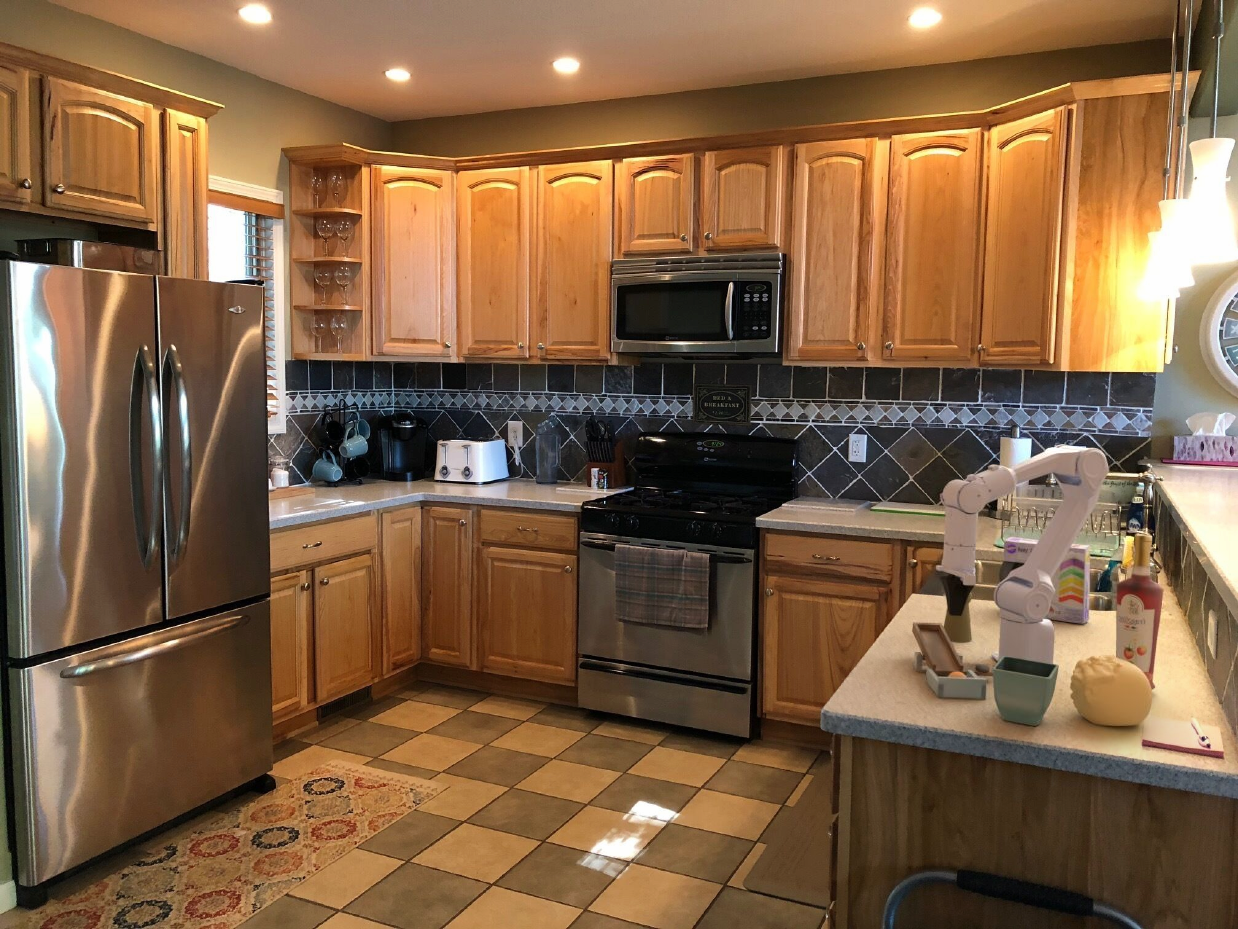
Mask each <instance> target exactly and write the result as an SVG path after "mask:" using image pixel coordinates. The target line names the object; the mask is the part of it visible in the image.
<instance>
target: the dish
mask: <svg viewBox="0 0 1238 929" xmlns="http://www.w3.org/2000/svg"><path fill="white" fill-rule="evenodd" d="M925 674H926V675H925V683H926V684H927V685H928V687H929V688H930V689H931V690H932V692H933V691H934V692H933V693H934V694H935V695H936V697H937V696H938V697H937V698H938V699H959V698H960V699H964V700H965V699H966V700H986V698H987V683H988V682H987V680H988V679H987V678H986V677H980V676H977V675H976V674H975V673H974V672H973V671H972V670H967V676H966V677H967V678H965V677H948V676H939V675H936V674H935V673H934V672H933V670H932V669H927V672H925Z"/></svg>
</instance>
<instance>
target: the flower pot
mask: <svg viewBox="0 0 1238 929" xmlns="http://www.w3.org/2000/svg"><path fill="white" fill-rule="evenodd" d="M1059 667H1060V665H1059V664H1056V663H1053V664H1052V663H1046V662H1039V661H1033V660H1027V659H1022V658H1016V657H1010V656H1002V657H1001V658H1000V660H999V661H998V662H996V664H995V665H994V666H992V672H993V676H992V684H993V686H992V687H993V696H994V701H995V704H996V708H997V710H998V712H999V714H1000V716H1001V717H1002V719H1003V720H1004V721H1007V722H1012V723H1017V724H1022V725H1026V726H1027V725H1028V726H1032V727H1036V726H1038V725H1039V724H1040V722H1041V721H1042V719H1043V717H1044V716H1045V714H1046V712H1047V710H1048V709H1049V707H1050V705H1051V703H1052V700H1053V697H1054V693H1055V690H1056V685H1057V680H1058V673H1059Z"/></svg>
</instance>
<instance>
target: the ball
mask: <svg viewBox="0 0 1238 929" xmlns="http://www.w3.org/2000/svg"><path fill="white" fill-rule="evenodd" d="M947 677H965V678H967V676H965V675H964V674H963V673H961V672H952V673H951V674H950V675H947Z"/></svg>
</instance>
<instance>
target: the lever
mask: <svg viewBox="0 0 1238 929" xmlns="http://www.w3.org/2000/svg"><path fill="white" fill-rule="evenodd" d="M912 635H913V637H914V639H915V641H916V643H917V645H918V647H919V650H920V652H921V654H922V655H923V656H922V662H923V661H925V663H926V666H928V667H929V669H932V670H933V672H934V673H935V674H936V675H937V676H939V675H941V676H943V675H944V676H949V675H950V674H951V673H952V672H961V673H963V674H964V675H965V676H966V677H967V670H972V671H973V672H974V673H975V674H976V675H977V676H978V677H993V672H992V668H993V666H992V665H991V663H969V662H968V663H967V662H966V663H965V662H963V661H961V659H960V658H959V656H958V654H957V653H958V651H957V650H956V648H955V647H954V645H953V643H952V642H953V641H951V640H950V638H949V637H948V635H947V633H946V631H945V629H944V624H943V623H942V622H917V621H916V622H915V621H914V622H912Z"/></svg>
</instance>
